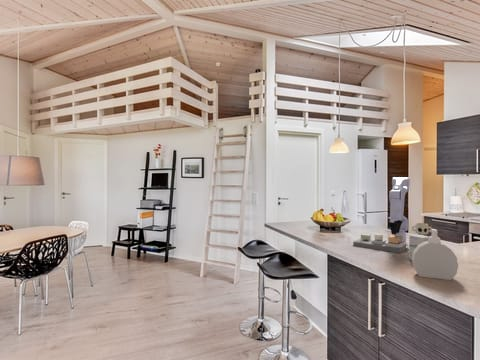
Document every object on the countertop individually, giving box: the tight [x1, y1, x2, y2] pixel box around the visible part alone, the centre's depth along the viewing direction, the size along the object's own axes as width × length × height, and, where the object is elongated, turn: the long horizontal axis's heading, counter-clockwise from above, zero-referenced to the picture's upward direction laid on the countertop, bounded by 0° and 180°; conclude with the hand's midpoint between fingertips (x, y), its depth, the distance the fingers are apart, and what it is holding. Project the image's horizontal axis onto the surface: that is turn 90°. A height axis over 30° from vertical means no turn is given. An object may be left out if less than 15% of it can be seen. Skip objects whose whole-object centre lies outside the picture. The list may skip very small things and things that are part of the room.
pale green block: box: [360, 233, 372, 240], centre depth 190 cm, size 3×5×3 cm, turn 48°
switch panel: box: [352, 238, 407, 254], centre depth 181 cm, size 14×26×4 cm, turn 48°
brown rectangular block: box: [387, 234, 402, 243], centre depth 175 cm, size 10×5×3 cm, turn 138°
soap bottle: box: [411, 228, 459, 281], centre depth 127 cm, size 16×5×20 cm, turn 67°
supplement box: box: [408, 233, 430, 261], centre depth 152 cm, size 7×7×13 cm
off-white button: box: [374, 233, 384, 240], centre depth 181 cm, size 4×4×3 cm
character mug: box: [411, 222, 433, 236], centre depth 191 cm, size 11×7×13 cm, turn 69°
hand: (395, 233), depth 175 cm, fingers open, 6 cm apart
